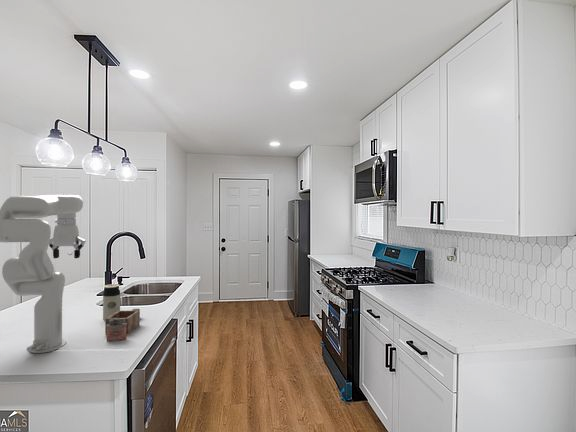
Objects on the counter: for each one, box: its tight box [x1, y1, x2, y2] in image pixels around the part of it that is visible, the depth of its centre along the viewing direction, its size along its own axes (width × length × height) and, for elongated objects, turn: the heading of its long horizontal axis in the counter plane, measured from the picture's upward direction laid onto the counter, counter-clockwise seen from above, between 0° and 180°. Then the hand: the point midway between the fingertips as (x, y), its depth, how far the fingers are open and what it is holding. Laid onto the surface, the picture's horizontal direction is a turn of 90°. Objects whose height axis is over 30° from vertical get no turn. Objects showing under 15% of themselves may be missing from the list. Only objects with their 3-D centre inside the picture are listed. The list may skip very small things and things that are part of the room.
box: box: [104, 310, 140, 336], centre depth 161 cm, size 13×10×8 cm
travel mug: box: [102, 283, 121, 321], centre depth 178 cm, size 8×8×18 cm
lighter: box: [105, 318, 128, 343], centre depth 148 cm, size 8×3×10 cm, turn 105°
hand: (66, 258), depth 163 cm, fingers open, 9 cm apart
